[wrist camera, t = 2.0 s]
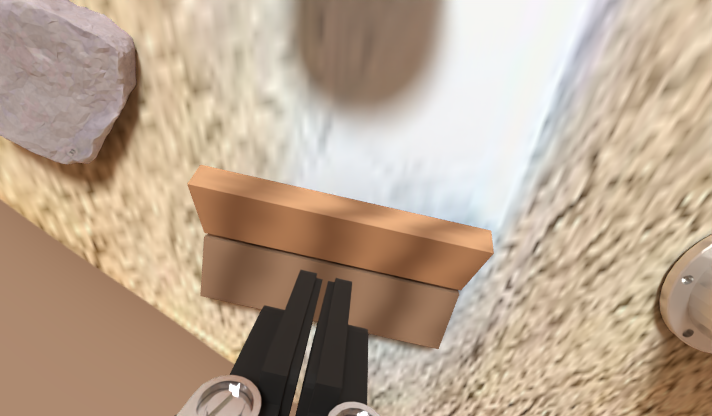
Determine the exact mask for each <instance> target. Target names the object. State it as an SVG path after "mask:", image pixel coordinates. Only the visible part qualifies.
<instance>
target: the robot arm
mask: <svg viewBox="0 0 712 416" xmlns="http://www.w3.org/2000/svg"><path fill="white" fill-rule="evenodd" d="M322 281H323V279H319V278H317V273H314V272H310V271H305V270H300V272H299V275H298V277H297V280H296V282H295V285H294V288H293V290H292V293H291V295H290V298H289V300H288V303H287V306H286V308H285V310H283V309H279V308H275V307H270V306H266V305H264V306H263V308H262V310H261V312H260V314H259V316H258V318H257V320H256V322H255V324H254V326H253V328H252V330H251V332H250V334H249V336H248V338H247V340H246V342H245V344H244V346H243V348H242V350H241V353H240V355H239V357H238V359H237V361H236V363H235V365H234V367H233V369H232V371H231V373H230V375H223V376H220V377H216V378H213V379H211V380H209V381H208V382H206V383H204V384H203V385H202V386H201V387H200V388H199V389H197V391H196V392H195V393H194V394H193V395H192V396H191V398H190V399H189V400H188V402H187V403H186V404H185V405H184V407H183V408H182V409H181V411H180V412H179V413H178V414H177V415H176V416H289V414H290V410H291V406H292V402H293V398H294V394H295V390H296V386H297V382H298V378H299V374H300V370H301V366H302V362H303V358H304V354H305V350H306V346H307V342H308V338H309V334H310V330H311V326H312V322H313V318H314V314H315V309H316V305H317V301H318V297H319V293H320V289H321V285H322ZM351 291H352V281H348V280H343V279H339V278H336V279H335V282H332V281H328V283H327V287H326V291H325V295H324V299H323V303H322V307H321V311H320V315H319V319H318V323H317V327H316V331H315V335H314V339H313V343H312V347H311V351H310V355H309V360H308V364H307V368H306V373H305V377H304V381H303V385H302V390H301V394H300V398H299V403H298V408H297V411H296V416H380V415H379V414H378V413H377V412H376V411H375V410H374V409H372V408H371V407H369V406H367V379H368V329H365V328H361V327H357V326H352V325H348V321H349V311H350V301H351ZM660 312H661V315H662V318H663V321H664V322H665V324H666V326H667V327H668V329H669V330H670V331H671V332H672V333H674V334H675V335H676V336H677V337H678V338H679V339H680V340H681V341H683V342H684V343H686V344H687V345H689V346H690V347H692V348H695V349H697V350H699V351H702V352H707V353H711V354H712V235H710V236H708V237H707V238H705V239H703V240H701V241H700V242H698V243H697V244H696V245H695V246H693V247H692V248H691V249H689V250H688V251H687V252H686V253H685V254H684V255H683V256H682V257H681V258H680V259H679V260H678V261H677V262H676V263H675V265H674V266H673V268H672V269H671V271H670V272H669V274H668V275H667V277H666V280H665V282H664V284H663V286H662V290H661V295H660Z"/></svg>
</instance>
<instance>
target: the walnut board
mask: <svg viewBox="0 0 712 416" xmlns="http://www.w3.org/2000/svg"><path fill="white" fill-rule="evenodd" d="M300 270H305V271H310V272H314V273H317V278H319V279H323V281H322V285H321V289H320V293H319V297H318V301H317V305H316V309H315V314H314V318H313V321H315V322H318V319H319V315H320V311H321V307H322V303H323V299H324V295H325V291H326V287H327V283H328V281H332V282H335V279H336V278H339V279H343V280H348V281H352V291H351V301H350V311H349V321H348V325H352V326H357V327H361V328H365V329H368V333H369V334H373V335H378V336H382V337H387V338H391V339H396V340H400V341H405V342H409V343H413V344H418V345H422V346H427V347H431V348H436V349H439V346H440V343H441V341H442V338H443V336H444V333H445V330H446V328H447V325H448V322H449V320H450V317H451V315H452V312H453V309H454V307H455V304H456V302H457V299H458V296H459V292H458V290H457V289H452V288H448V287H443V286H439V285H435V284H430V283H426V282H421V281H417V280H412V279H408V278H404V277H399V276H395V275H390V274H386V273H381V272H377V271H372V270H368V269H364V268H359V267H355V266H350V265H346V264H341V263H337V262H333V261H328V260H324V259H319V258H315V257H310V256H306V255H301V254H297V253H293V252H288V251H284V250H279V249H275V248H270V247H266V246H262V245H257V244H253V243H248V242H244V241H239V240H235V239H230V238H226V237H222V236H217V235H213V234H207V235H206V236H205V237H204V248H203V264H202V280H201V296H204V297H208V298H212V299H217V300H221V301H226V302H230V303H235V304H239V305H244V306H248V307H253V308H257V309H262V308H263V306H264V305H266V306H270V307H275V308H279V309H283V310H285V308H286V306H287V303H288V300H289V298H290V295H291V293H292V290H293V288H294V285H295V282H296V280H297V277H298V275H299V272H300Z"/></svg>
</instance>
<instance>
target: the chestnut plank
mask: <svg viewBox="0 0 712 416" xmlns="http://www.w3.org/2000/svg"><path fill="white" fill-rule="evenodd" d="M188 187H189V190H190V193H191V196H192V198H193V201H194V204H195V207H196V210H197V213H198V216H199V218H200V221H201V224H202V227H203V230H204V233H208V234H213V235H217V236H222V237H226V238H230V239H235V240H239V241H244V242H248V243H253V244H257V245H262V246H266V247H270V248H275V249H279V250H284V251H288V252H293V253H297V254H301V255H306V256H310V257H315V258H319V259H324V260H328V261H333V262H337V263H341V264H346V265H350V266H355V267H359V268H364V269H368V270H372V271H377V272H381V273H386V274H390V275H395V276H399V277H404V278H408V279H412V280H417V281H421V282H426V283H430V284H435V285H439V286H443V287H448V288H452V289H457V290H462V288H463V287H464V286H465V285H466V284H467V283H468V282H469V281H470V279H471V278H472V277H473V276H474V275H475V274H476V273H477V272H478V270H479V269H480V268H481V267H482V266H483V265H484V264H485V263H486V261H487V260H488V259H489V258H490V257H491V256H492V255H493V254H494V252H493V243H492V234H491V231H490V230H486V229H481V228H477V227H472V226H468V225H464V224H459V223H455V222H450V221H446V220H442V219H437V218H433V217H428V216H424V215H420V214H415V213H411V212H406V211H402V210H398V209H393V208H389V207H384V206H380V205H376V204H371V203H367V202H362V201H358V200H353V199H349V198H345V197H340V196H336V195H331V194H327V193H323V192H318V191H314V190H309V189H305V188H301V187H296V186H292V185H287V184H283V183H279V182H274V181H270V180H265V179H261V178H257V177H252V176H248V175H243V174H239V173H234V172H230V171H226V170H221V169H217V168H212V167H208V166H204V165H200V166H199V168H198V169H197V171H196V172H195V174H194V175H193V177H192V178H191V179H190V181H189V182H188Z"/></svg>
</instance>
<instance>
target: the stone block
mask: <svg viewBox="0 0 712 416" xmlns="http://www.w3.org/2000/svg"><path fill="white" fill-rule="evenodd" d="M136 83H137V81H136V61H135V48H134V42H133V39H132V37H131V36H130V35H129V34H128V33H127V32H125V31H124V30H122V29H121V28H120V27H118V26H117V25H116V24H115V23H114V22H113V21H112V20H111V19H109V18H108V17H106V16H105V15H104V14H100V13H97V12H94V11H92V10H89V9H88V8H86V7H79V6H77V5H75V4H74V3H72V2H70V1H69V0H0V136H3V137H4V138H6V139H8V140H10V141H12V142H14V143H15V144H18V145H20V146H21V147H23V148H25V149H27V150H29V151H31V152H33V153H35V154H38V155H40V156H43V157H45V158H48V159H50V160H53V161H55V162H59V163H62V164H73V163H77V162H78V163H86V164H88V163H91V161H93V160H94V159H95V158H96V157H97V155H98V152H99V150H100V149H101V147H102V144H103V142H104V140H105V138H106V136H107V135H108V134H109V133H110V131H111V129H112V128H113V124H114V122H115V120H116V119H117V118H118V117H119V115H120V112H121V110H122V109H123V108H124V106H125V104H126V101H127V99H128V96H129V95H130V93H131V91H132V90H133V89H134V88H135V85H136Z"/></svg>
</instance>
